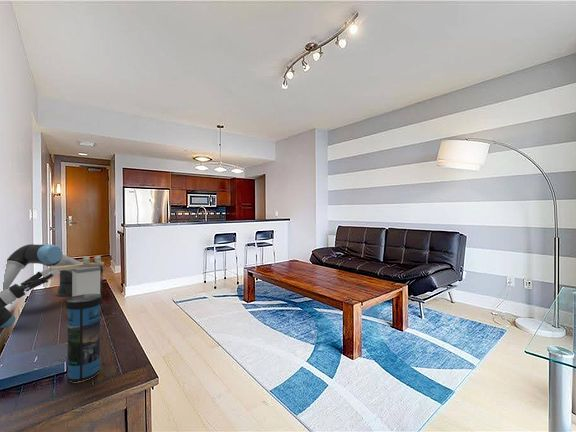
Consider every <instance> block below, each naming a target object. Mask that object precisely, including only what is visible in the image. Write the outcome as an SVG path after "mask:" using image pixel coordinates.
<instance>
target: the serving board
mask: <svg viewBox="0 0 576 432" xmlns="http://www.w3.org/2000/svg"><path fill="white" fill-rule="evenodd" d="M90 259H91V258H90V256H83V257H82V262H83V264H76V265H66V266H57V267H55V266H54V267H50V271H54V270H56V269H58V270H59V271H62V270H71V269H79V268H88V267H97V266H102V267H104V266H105V262H103V261H102V255H95V256H94V263H93V262H91V260H90Z"/></svg>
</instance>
